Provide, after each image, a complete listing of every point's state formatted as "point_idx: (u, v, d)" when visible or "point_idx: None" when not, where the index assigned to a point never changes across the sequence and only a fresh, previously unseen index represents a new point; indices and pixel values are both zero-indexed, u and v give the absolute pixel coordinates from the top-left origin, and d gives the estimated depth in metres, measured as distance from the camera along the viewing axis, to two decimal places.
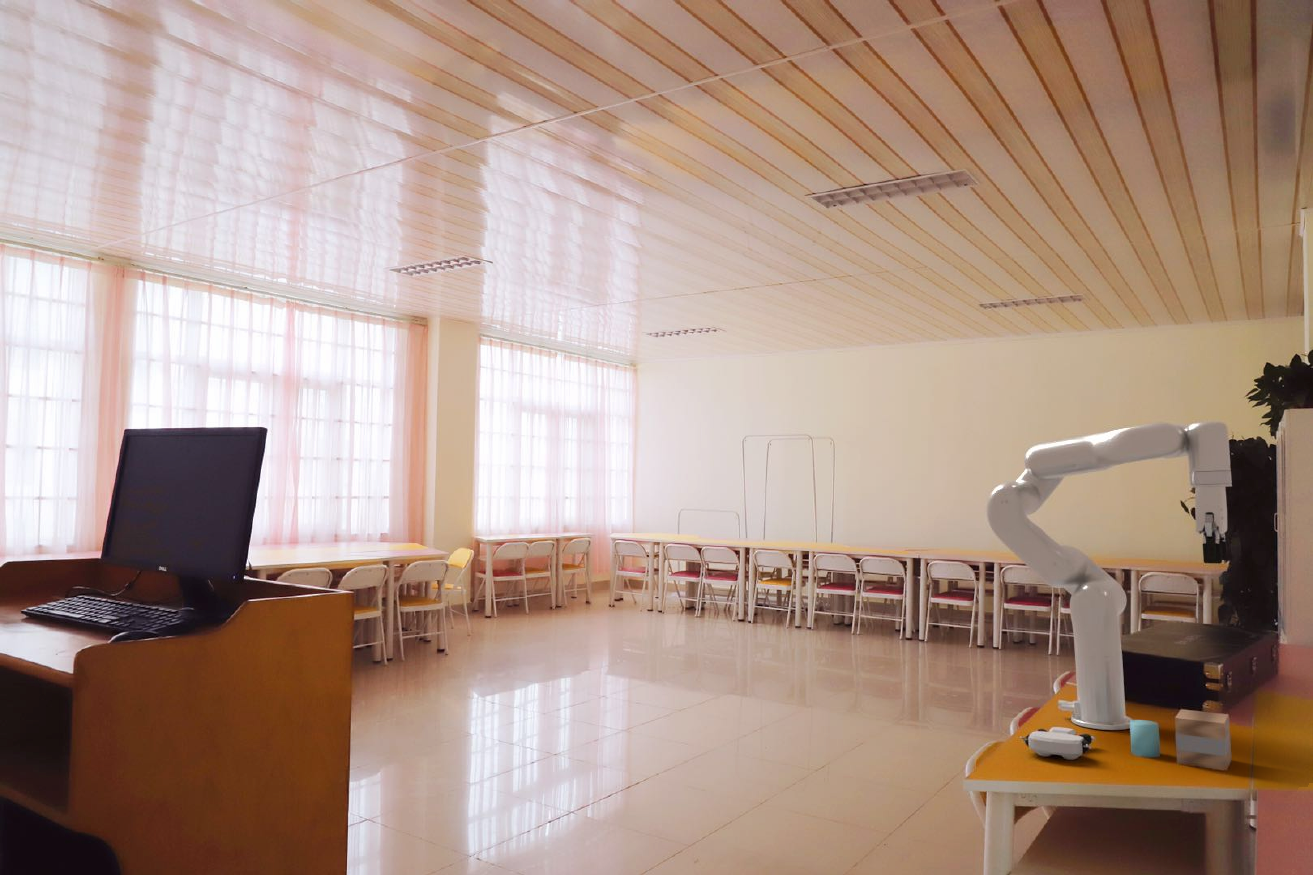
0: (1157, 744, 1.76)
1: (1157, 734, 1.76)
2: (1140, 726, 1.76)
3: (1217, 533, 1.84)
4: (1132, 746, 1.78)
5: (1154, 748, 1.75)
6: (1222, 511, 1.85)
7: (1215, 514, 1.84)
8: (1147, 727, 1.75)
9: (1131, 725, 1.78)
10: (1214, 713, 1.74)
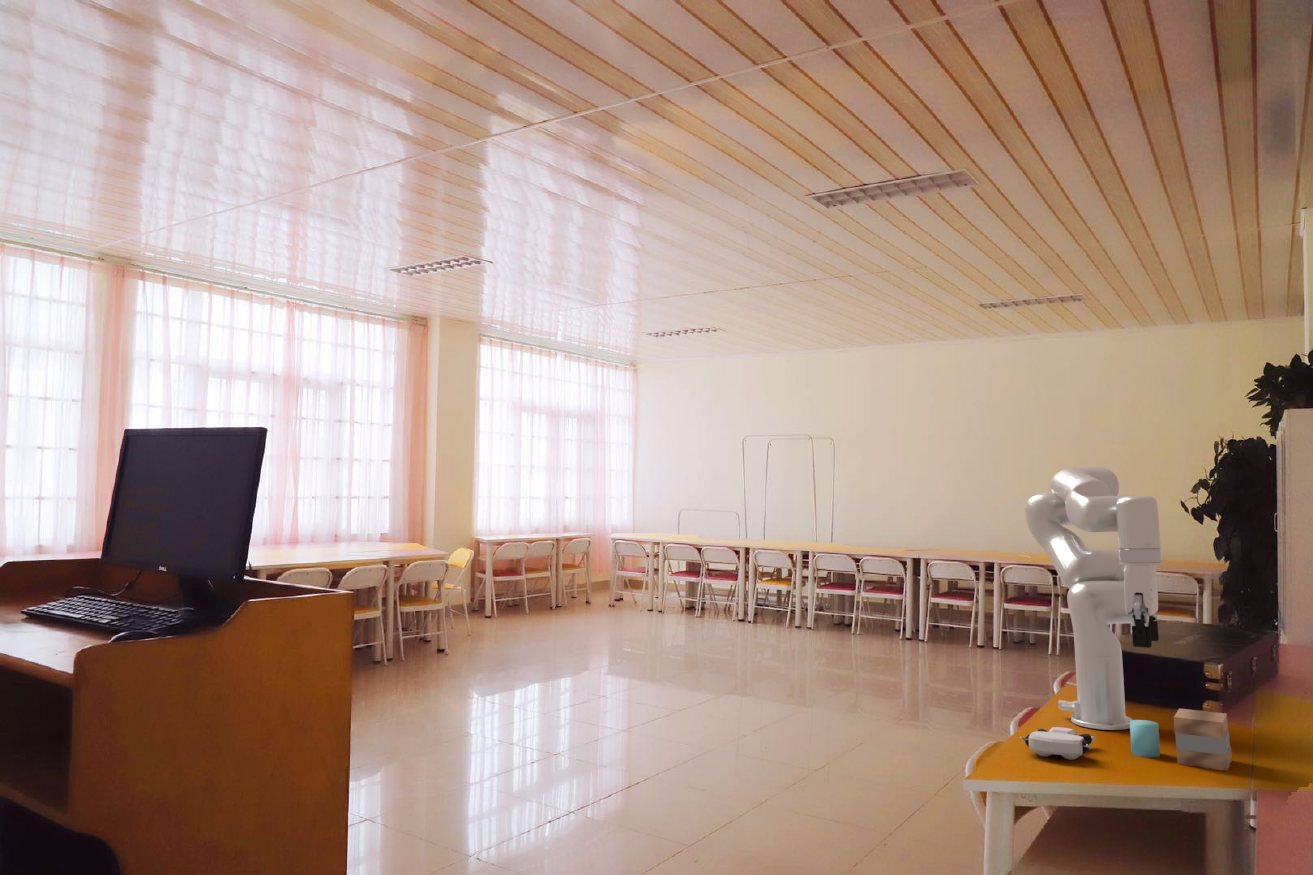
0: (1157, 744, 1.76)
1: (1157, 734, 1.76)
2: (1140, 726, 1.76)
3: (1146, 615, 1.75)
4: (1132, 746, 1.78)
5: (1154, 748, 1.75)
6: (1151, 592, 1.75)
7: (1144, 595, 1.75)
8: (1147, 727, 1.75)
9: (1131, 725, 1.78)
10: (1212, 712, 1.74)
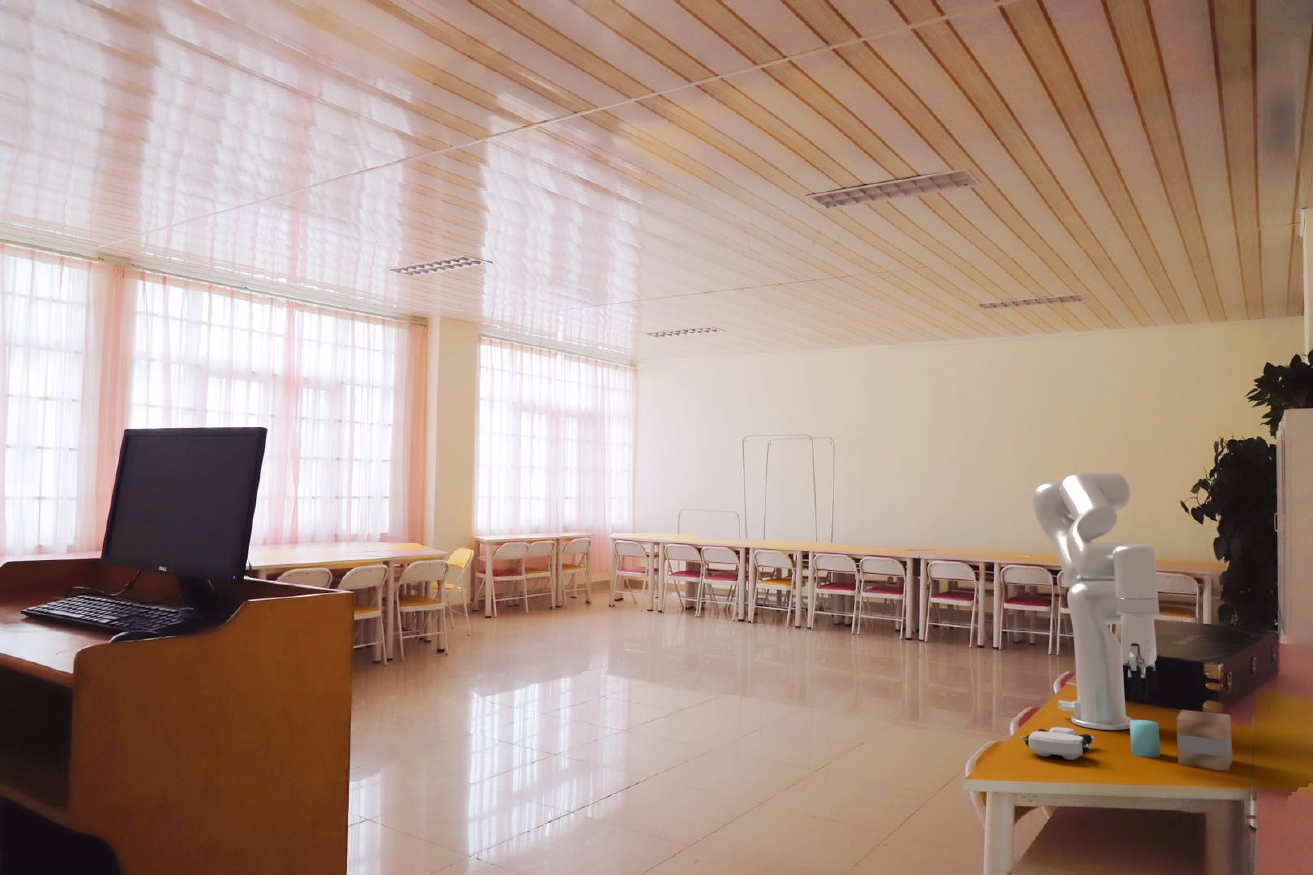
0: (1157, 744, 1.76)
1: (1157, 734, 1.76)
2: (1140, 726, 1.76)
3: (1143, 666, 1.73)
4: (1132, 746, 1.78)
5: (1154, 748, 1.75)
6: (1148, 642, 1.74)
7: (1141, 646, 1.74)
8: (1147, 727, 1.75)
9: (1131, 725, 1.78)
10: (1215, 714, 1.73)
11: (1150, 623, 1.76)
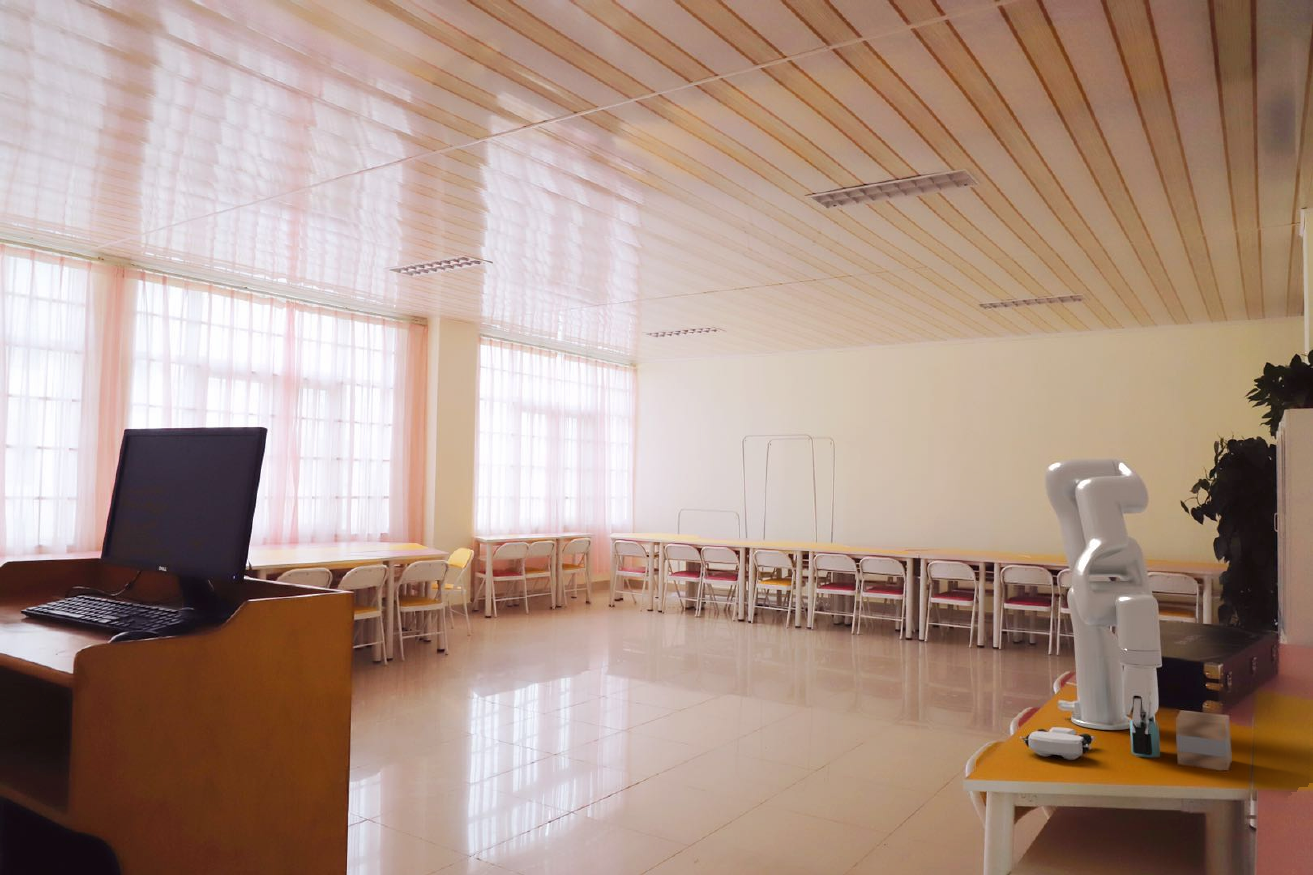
0: (1157, 744, 1.76)
1: (1157, 734, 1.76)
2: None
3: (1146, 723, 1.74)
4: (1132, 746, 1.78)
5: (1154, 748, 1.75)
6: (1150, 695, 1.74)
7: (1143, 698, 1.74)
8: None
9: (1131, 725, 1.78)
10: (1214, 714, 1.73)
11: (1152, 675, 1.76)
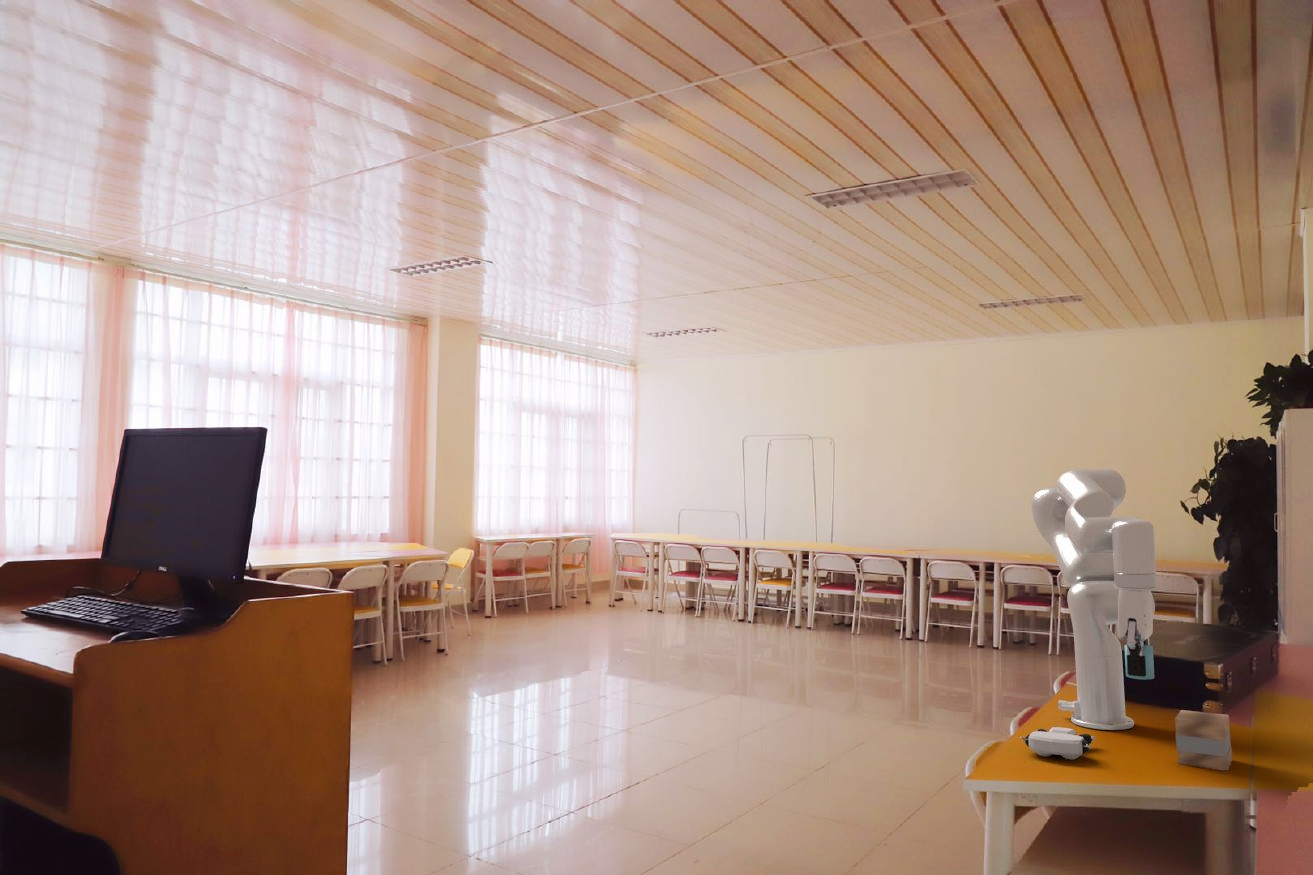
0: (1151, 666, 1.77)
1: (1151, 657, 1.77)
2: None
3: (1141, 645, 1.76)
4: (1126, 669, 1.79)
5: (1148, 671, 1.77)
6: (1145, 617, 1.75)
7: (1137, 621, 1.75)
8: None
9: (1126, 648, 1.79)
10: (1214, 714, 1.73)
11: (1147, 598, 1.77)
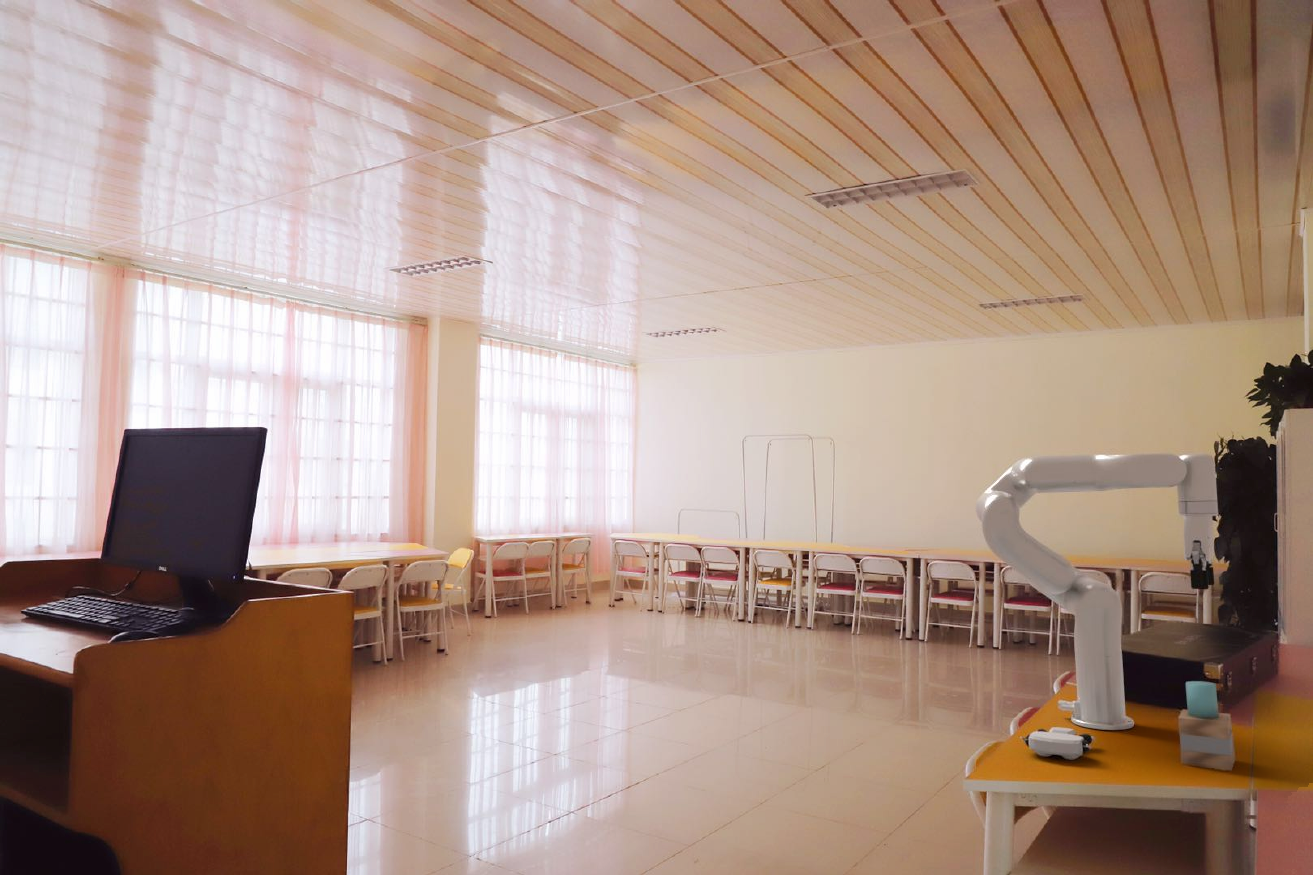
0: (1215, 705, 1.70)
1: (1215, 694, 1.71)
2: (1197, 686, 1.71)
3: (1204, 560, 1.94)
4: (1189, 708, 1.72)
5: (1212, 709, 1.70)
6: (1209, 539, 1.95)
7: (1202, 542, 1.94)
8: (1205, 687, 1.70)
9: (1187, 686, 1.73)
10: None
11: (1210, 523, 1.96)
